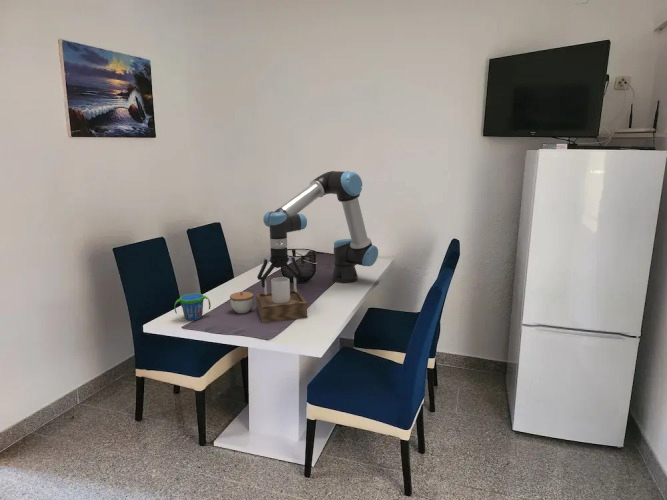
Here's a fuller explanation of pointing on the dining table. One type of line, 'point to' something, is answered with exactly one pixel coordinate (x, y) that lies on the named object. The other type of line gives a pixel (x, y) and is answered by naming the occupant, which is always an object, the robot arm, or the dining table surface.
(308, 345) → the dining table surface
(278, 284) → the mug
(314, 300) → the dining table surface
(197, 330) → the dining table surface
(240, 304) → the lidded jar
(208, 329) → the dining table surface
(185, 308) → the snack cup
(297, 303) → the walnut box
